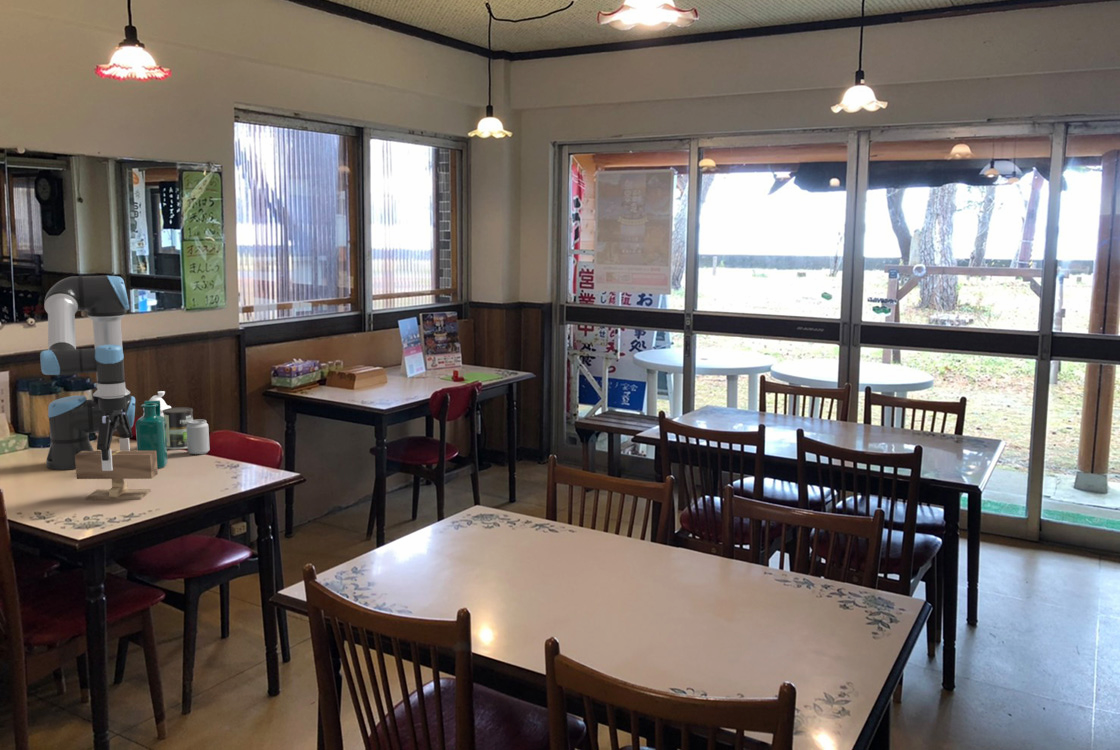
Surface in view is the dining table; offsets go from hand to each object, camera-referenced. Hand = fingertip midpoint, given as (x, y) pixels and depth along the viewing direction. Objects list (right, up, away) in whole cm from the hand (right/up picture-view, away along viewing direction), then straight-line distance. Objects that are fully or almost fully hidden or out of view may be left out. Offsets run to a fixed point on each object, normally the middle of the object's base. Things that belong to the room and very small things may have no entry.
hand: (116, 464), depth 271 cm
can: (+3, -1, +53) cm, 53 cm away
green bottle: (-5, -4, +36) cm, 36 cm away
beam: (0, -4, +1) cm, 4 cm away
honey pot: (-22, +3, +76) cm, 79 cm away
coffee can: (-7, 0, +62) cm, 63 cm away
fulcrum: (0, -10, +2) cm, 10 cm away
